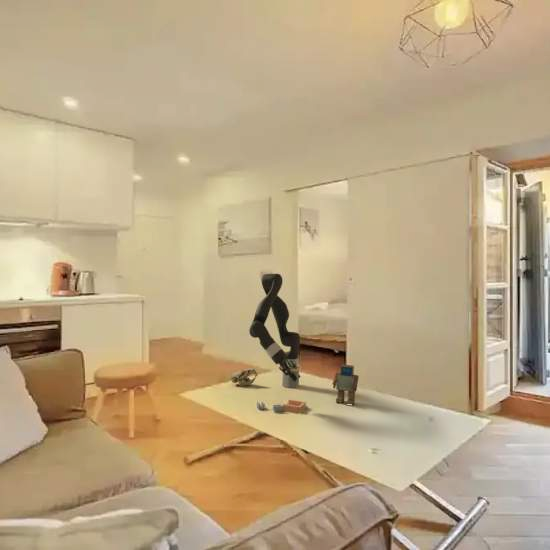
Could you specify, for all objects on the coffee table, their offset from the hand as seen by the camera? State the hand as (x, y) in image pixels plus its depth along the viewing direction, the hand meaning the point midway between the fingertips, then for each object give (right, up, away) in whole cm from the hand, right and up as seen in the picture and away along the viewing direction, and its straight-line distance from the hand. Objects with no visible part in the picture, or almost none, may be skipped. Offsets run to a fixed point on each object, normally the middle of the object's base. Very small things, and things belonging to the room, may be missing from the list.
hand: (297, 378), depth 217 cm
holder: (-2, -15, +1) cm, 16 cm away
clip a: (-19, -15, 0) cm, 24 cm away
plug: (-2, -4, +1) cm, 5 cm away
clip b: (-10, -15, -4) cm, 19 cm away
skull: (-31, -15, +43) cm, 55 cm away
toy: (+27, -16, +13) cm, 34 cm away
